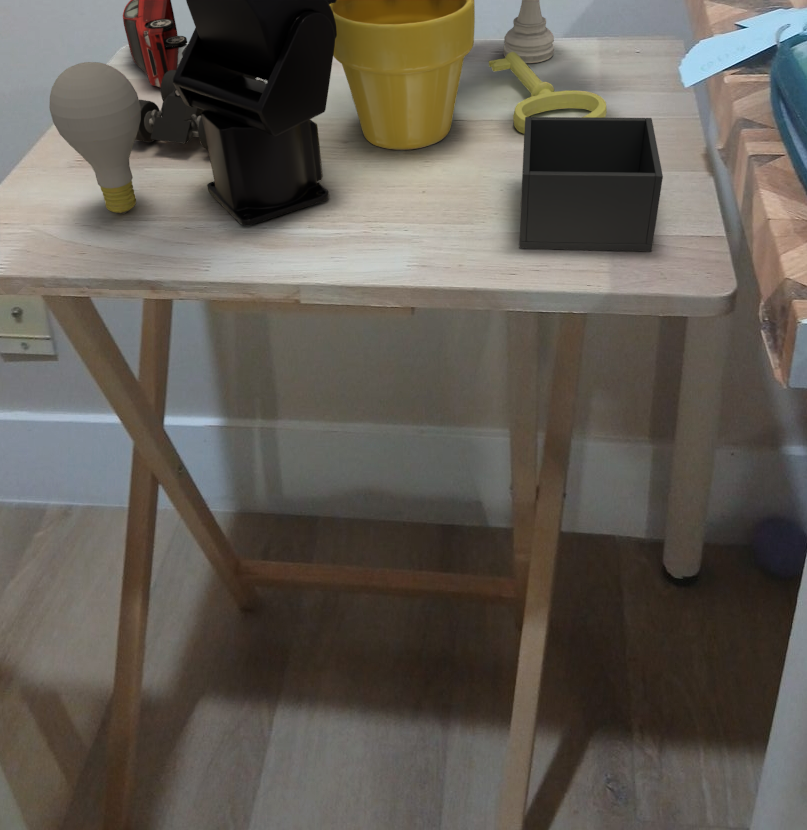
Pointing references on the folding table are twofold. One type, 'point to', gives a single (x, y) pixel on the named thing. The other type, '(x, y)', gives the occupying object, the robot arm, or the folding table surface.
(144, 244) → the folding table surface
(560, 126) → the bin
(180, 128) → the toy vehicle
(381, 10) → the flower pot
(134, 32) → the toy car
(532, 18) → the chess piece
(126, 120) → the light bulb
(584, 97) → the key
